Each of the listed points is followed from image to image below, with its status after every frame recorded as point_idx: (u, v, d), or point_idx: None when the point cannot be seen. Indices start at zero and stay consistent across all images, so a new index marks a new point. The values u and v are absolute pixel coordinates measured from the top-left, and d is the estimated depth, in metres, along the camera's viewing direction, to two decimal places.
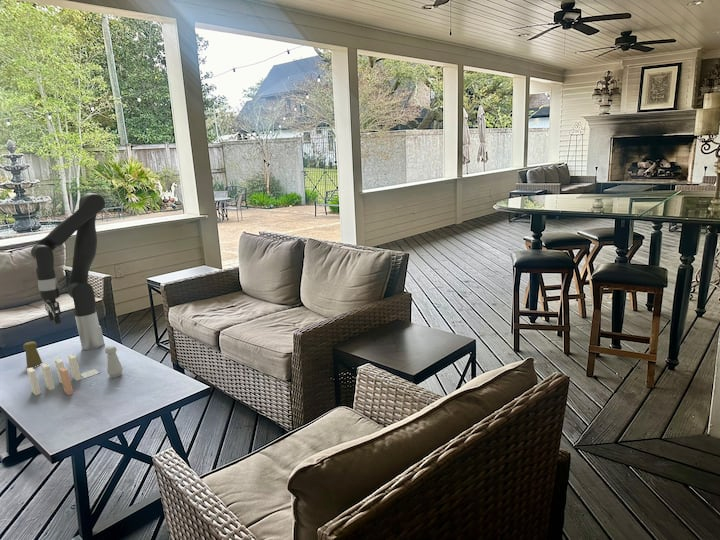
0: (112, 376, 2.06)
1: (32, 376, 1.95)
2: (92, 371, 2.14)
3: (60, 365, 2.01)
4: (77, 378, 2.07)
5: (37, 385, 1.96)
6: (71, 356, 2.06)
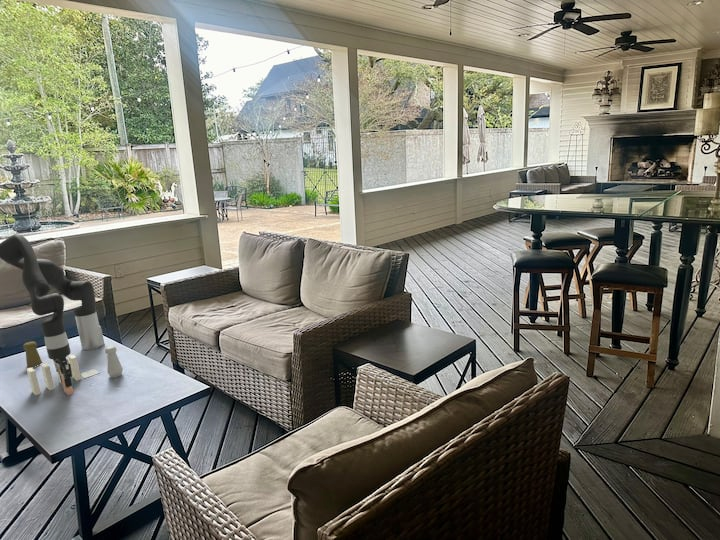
0: (112, 376, 2.06)
1: (32, 376, 1.95)
2: (92, 371, 2.14)
3: None
4: (77, 378, 2.07)
5: (37, 385, 1.96)
6: (71, 356, 2.06)
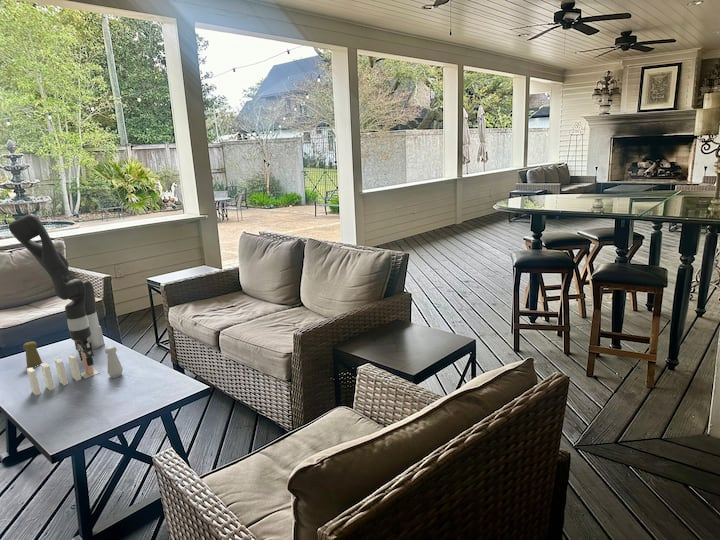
0: (112, 376, 2.06)
1: (32, 376, 1.95)
2: None
3: (60, 365, 2.01)
4: (77, 378, 2.07)
5: (37, 385, 1.96)
6: (71, 356, 2.06)
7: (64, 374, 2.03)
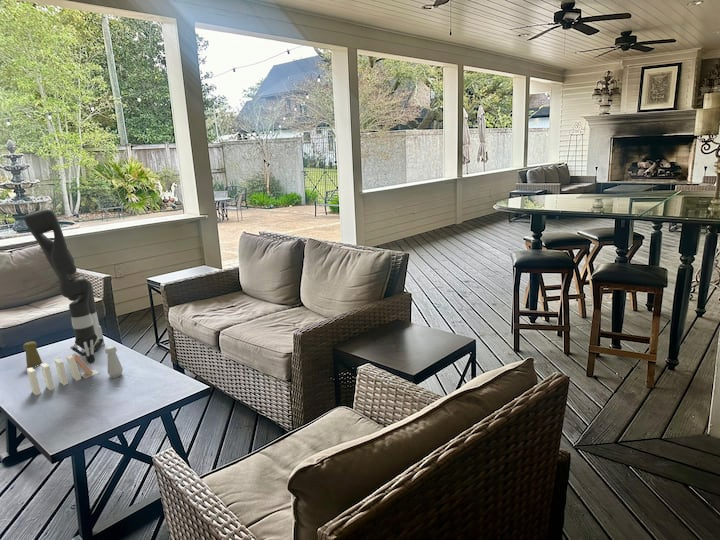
0: (112, 376, 2.06)
1: (32, 376, 1.95)
2: (92, 371, 2.14)
3: (60, 365, 2.01)
4: (77, 378, 2.07)
5: (37, 385, 1.96)
6: (69, 357, 2.06)
7: (64, 374, 2.03)
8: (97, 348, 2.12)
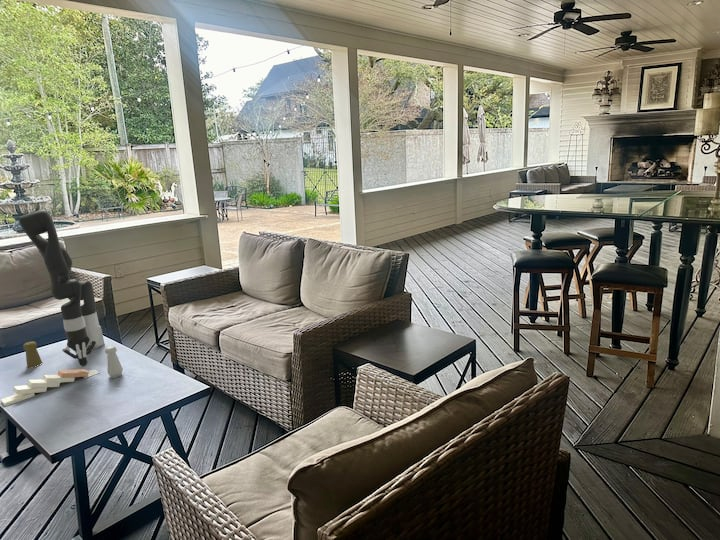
0: (112, 376, 2.06)
1: None
2: (92, 371, 2.14)
3: (34, 386, 1.96)
4: (71, 380, 2.05)
5: (23, 397, 1.93)
6: (45, 379, 2.00)
7: (47, 384, 1.99)
8: (89, 350, 2.10)
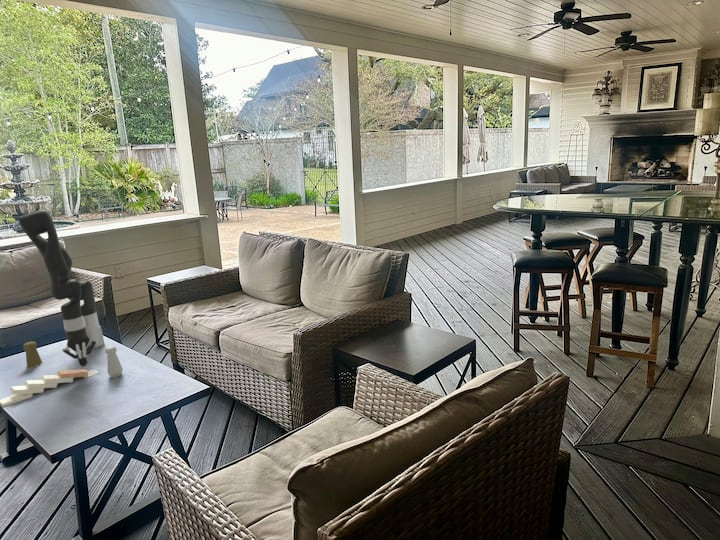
0: (112, 376, 2.06)
1: None
2: (92, 371, 2.14)
3: (31, 387, 1.95)
4: (70, 381, 2.05)
5: (21, 398, 1.93)
6: (43, 379, 2.01)
7: (44, 384, 1.98)
8: (89, 350, 2.10)
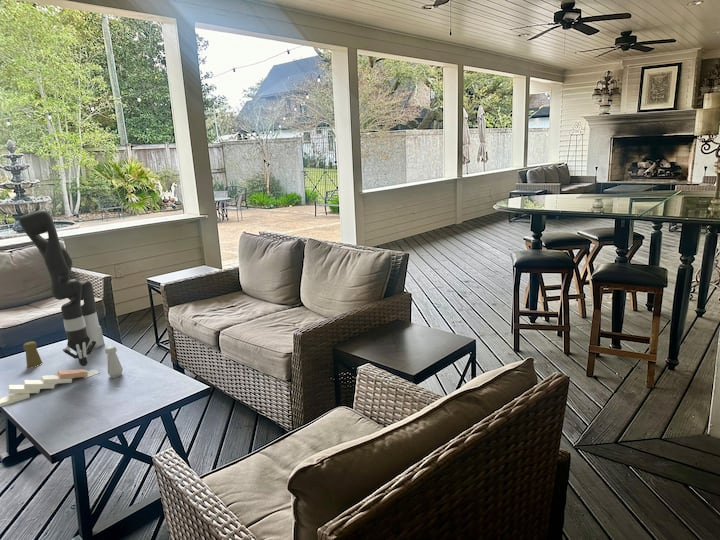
0: (112, 376, 2.06)
1: None
2: (92, 371, 2.14)
3: (28, 387, 1.95)
4: (69, 381, 2.05)
5: (18, 398, 1.92)
6: (42, 379, 2.00)
7: (41, 385, 1.98)
8: (90, 350, 2.10)
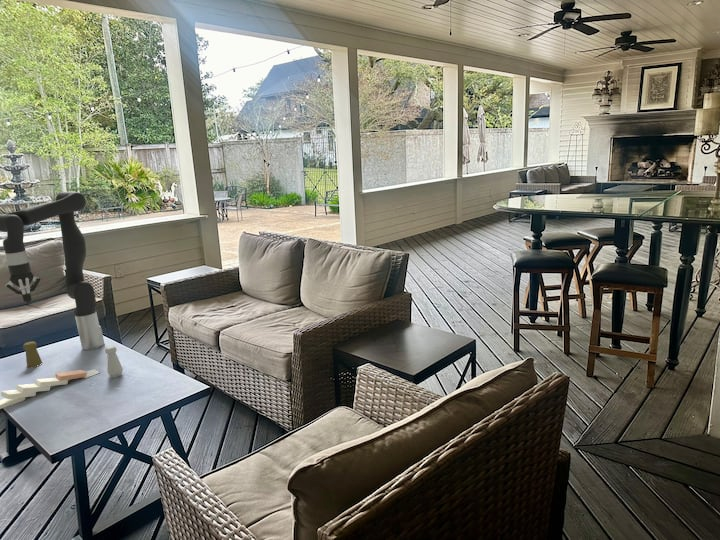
0: (112, 376, 2.06)
1: None
2: (92, 371, 2.14)
3: (26, 391, 1.92)
4: (65, 383, 2.03)
5: (13, 401, 1.90)
6: (37, 383, 1.98)
7: (38, 388, 1.96)
8: (34, 287, 2.11)
